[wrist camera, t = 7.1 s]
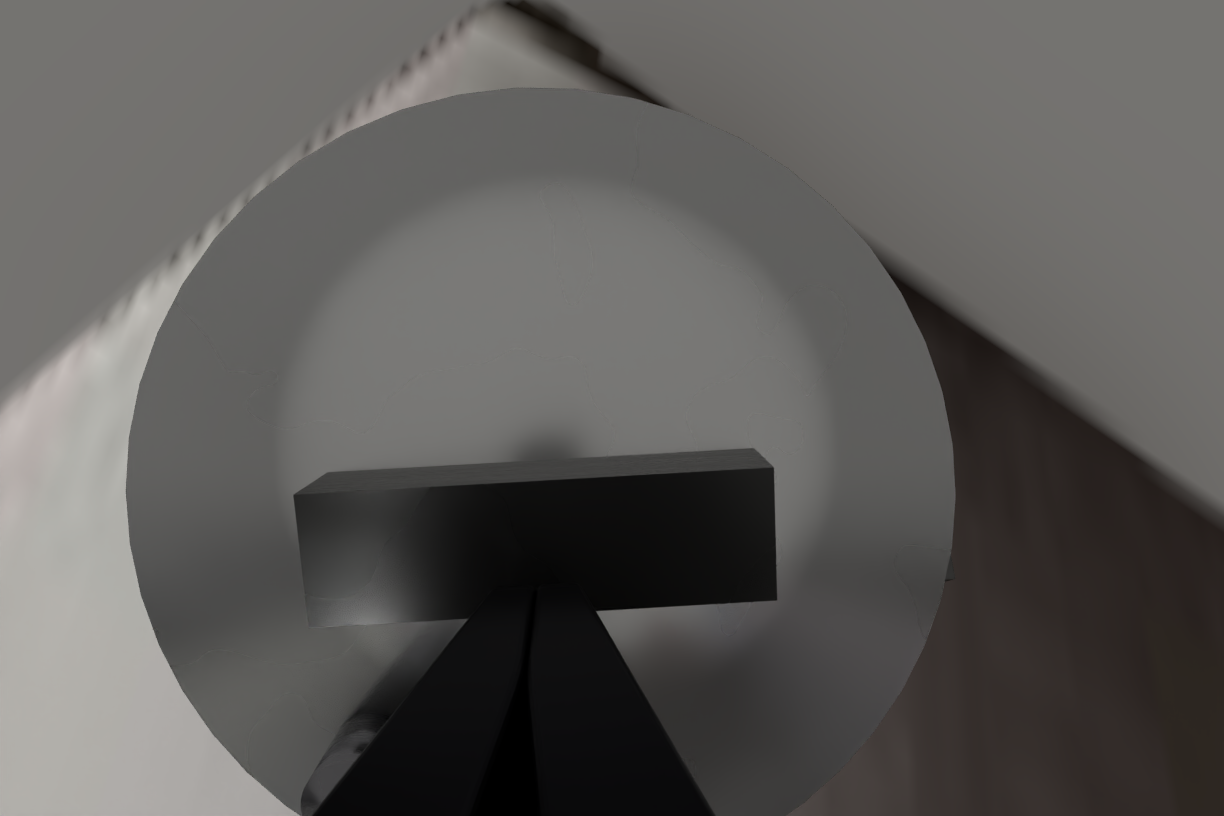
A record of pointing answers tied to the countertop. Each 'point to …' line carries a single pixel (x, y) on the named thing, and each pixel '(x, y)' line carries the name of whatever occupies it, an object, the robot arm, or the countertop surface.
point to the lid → (542, 439)
